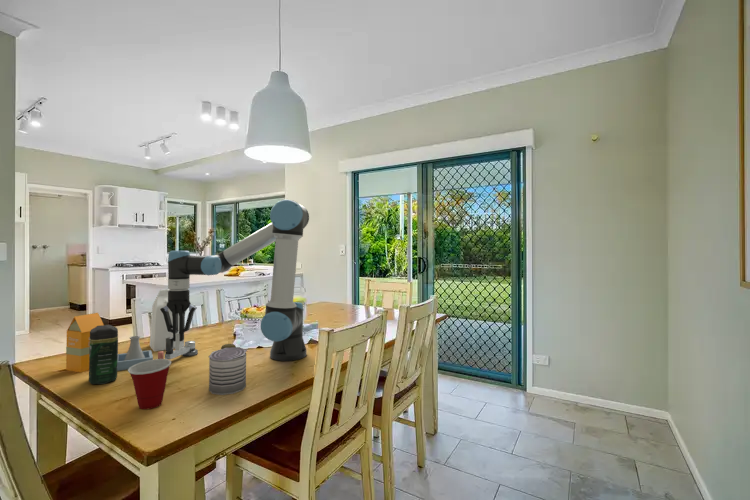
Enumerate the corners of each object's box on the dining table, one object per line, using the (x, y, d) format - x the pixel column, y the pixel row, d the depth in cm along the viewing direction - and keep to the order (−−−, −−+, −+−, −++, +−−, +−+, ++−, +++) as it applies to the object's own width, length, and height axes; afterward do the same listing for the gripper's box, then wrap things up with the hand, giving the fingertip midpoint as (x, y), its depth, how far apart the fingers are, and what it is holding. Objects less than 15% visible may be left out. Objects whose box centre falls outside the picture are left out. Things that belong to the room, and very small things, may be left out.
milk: (178, 341, 177) (179, 287, 177) (184, 347, 169) (185, 290, 168) (149, 345, 170) (150, 289, 170) (153, 351, 161) (154, 291, 161)
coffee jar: (118, 382, 125) (119, 327, 125) (88, 387, 120) (89, 330, 120) (116, 374, 132) (117, 322, 132) (88, 378, 128) (89, 324, 127)
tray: (152, 365, 142) (153, 357, 142) (114, 371, 135) (114, 362, 135) (151, 357, 152) (151, 350, 152) (115, 362, 145) (115, 354, 145)
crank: (188, 348, 160) (189, 330, 160) (197, 349, 159) (197, 330, 159) (162, 359, 145) (162, 338, 145) (171, 359, 144) (171, 339, 144)
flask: (149, 360, 147) (150, 334, 147) (136, 365, 140) (136, 339, 140) (132, 359, 148) (133, 334, 148) (118, 364, 140) (118, 338, 140)
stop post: (163, 362, 146) (163, 352, 146) (157, 363, 145) (158, 352, 145) (163, 361, 148) (163, 351, 148) (157, 361, 147) (157, 351, 147)
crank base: (198, 355, 157) (198, 351, 157) (182, 357, 153) (182, 353, 153) (196, 351, 162) (196, 348, 162) (181, 353, 158) (181, 350, 158)
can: (253, 386, 123) (253, 350, 123) (222, 398, 113) (223, 359, 113) (231, 379, 129) (232, 345, 129) (201, 389, 120) (201, 352, 120)
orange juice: (65, 370, 136) (66, 315, 135) (90, 363, 144) (91, 311, 144) (81, 372, 133) (81, 317, 133) (105, 365, 142) (106, 313, 141)
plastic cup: (120, 407, 106) (120, 365, 106) (159, 395, 115) (160, 356, 115) (138, 417, 100) (138, 373, 100) (178, 403, 109) (178, 363, 109)
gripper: (157, 290, 141) (156, 352, 141) (193, 290, 143) (192, 351, 143) (165, 288, 148) (164, 347, 149) (199, 288, 150) (198, 346, 151)
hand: (178, 349), depth 146 cm, fingers closed
